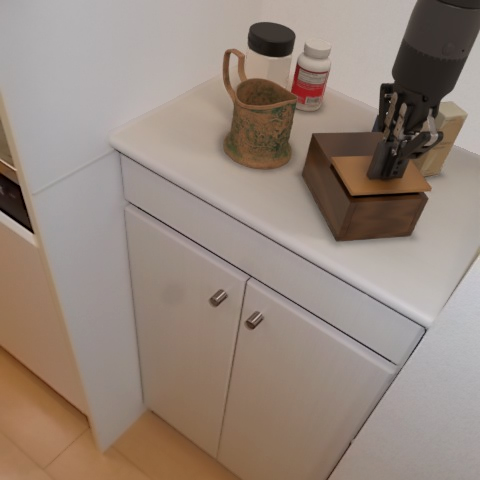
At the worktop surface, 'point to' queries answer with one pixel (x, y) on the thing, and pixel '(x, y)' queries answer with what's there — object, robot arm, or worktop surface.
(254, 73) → the jar
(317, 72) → the pill bottle
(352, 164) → the slide door
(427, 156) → the box
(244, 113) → the brown green pitcher
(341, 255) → the worktop surface
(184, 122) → the worktop surface
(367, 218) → the walnut box
